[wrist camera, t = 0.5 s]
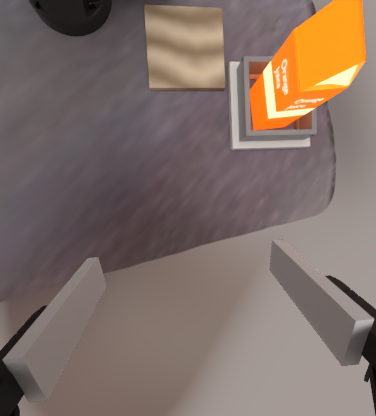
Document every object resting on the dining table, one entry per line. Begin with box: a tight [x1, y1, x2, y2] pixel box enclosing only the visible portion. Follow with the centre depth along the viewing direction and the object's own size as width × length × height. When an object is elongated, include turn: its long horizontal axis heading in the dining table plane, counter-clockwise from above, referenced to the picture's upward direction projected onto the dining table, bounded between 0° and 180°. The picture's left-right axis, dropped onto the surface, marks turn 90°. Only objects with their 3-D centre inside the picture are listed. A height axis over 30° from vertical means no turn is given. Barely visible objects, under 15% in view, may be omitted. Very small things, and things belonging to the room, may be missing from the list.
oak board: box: [144, 5, 225, 91], centre depth 37 cm, size 16×16×1 cm
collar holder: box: [227, 56, 317, 151], centre depth 37 cm, size 18×18×5 cm
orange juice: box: [250, 0, 366, 130], centre depth 30 cm, size 8×9×20 cm
